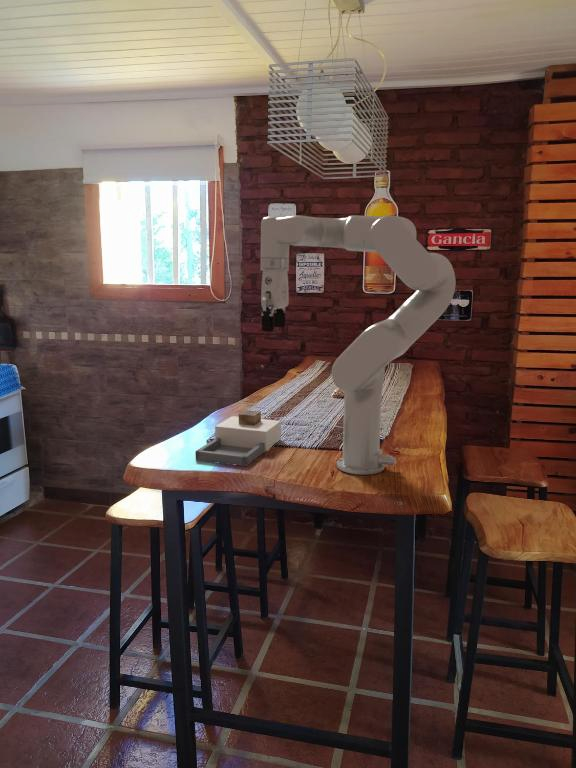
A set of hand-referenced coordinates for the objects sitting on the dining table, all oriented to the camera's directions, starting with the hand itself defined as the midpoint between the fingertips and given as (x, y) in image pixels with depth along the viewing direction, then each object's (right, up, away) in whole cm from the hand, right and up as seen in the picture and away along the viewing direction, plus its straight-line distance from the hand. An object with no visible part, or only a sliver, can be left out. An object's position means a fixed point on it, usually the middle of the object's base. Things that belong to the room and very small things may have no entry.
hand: (273, 329), depth 163 cm
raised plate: (-8, -32, +16) cm, 37 cm away
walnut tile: (-7, -26, +15) cm, 31 cm away
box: (-12, -35, +4) cm, 37 cm away
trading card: (+15, -31, +26) cm, 43 cm away
